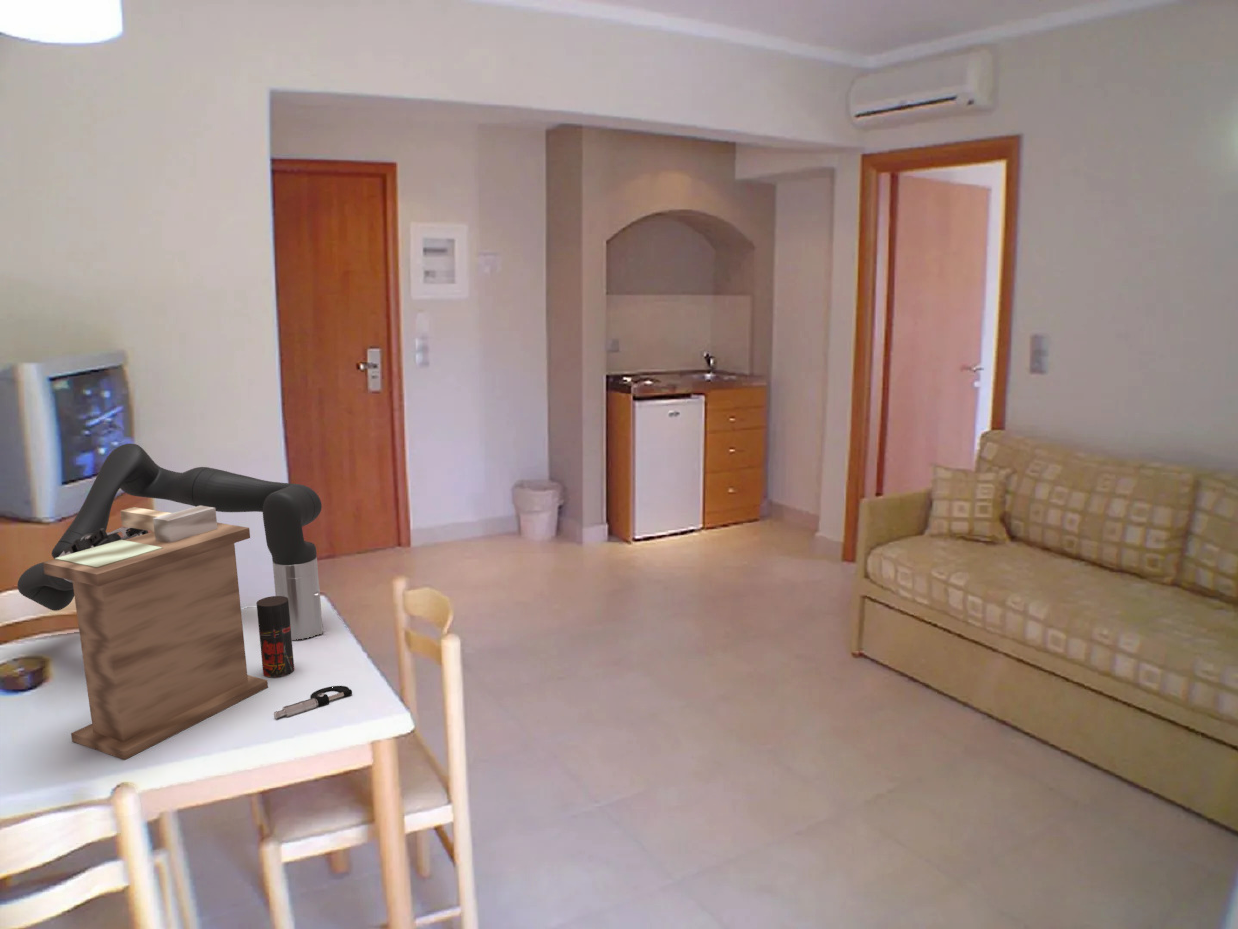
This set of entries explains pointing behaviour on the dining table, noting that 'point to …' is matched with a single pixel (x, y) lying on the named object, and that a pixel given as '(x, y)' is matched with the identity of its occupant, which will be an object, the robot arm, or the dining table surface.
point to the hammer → (171, 522)
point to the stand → (158, 635)
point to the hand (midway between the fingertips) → (125, 527)
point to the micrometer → (313, 701)
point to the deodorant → (275, 636)
